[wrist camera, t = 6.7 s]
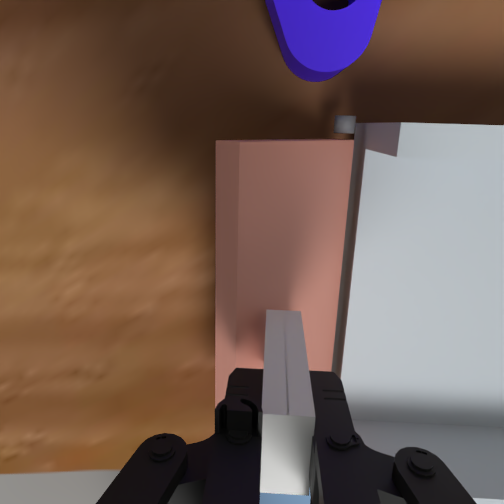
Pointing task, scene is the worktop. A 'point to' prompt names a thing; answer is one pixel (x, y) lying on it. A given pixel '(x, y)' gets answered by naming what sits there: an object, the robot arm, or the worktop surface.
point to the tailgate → (278, 245)
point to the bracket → (321, 35)
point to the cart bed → (426, 295)
